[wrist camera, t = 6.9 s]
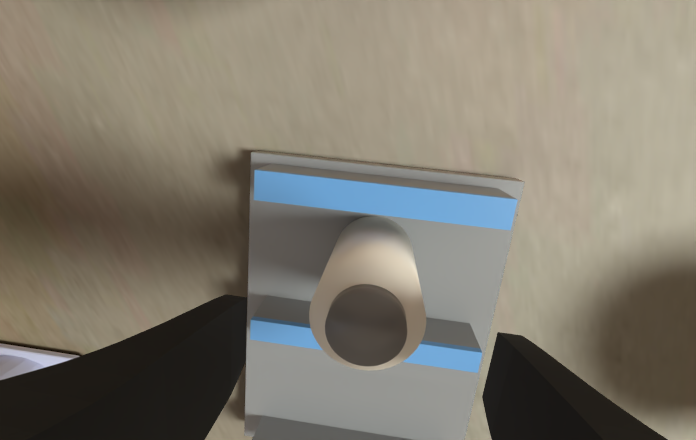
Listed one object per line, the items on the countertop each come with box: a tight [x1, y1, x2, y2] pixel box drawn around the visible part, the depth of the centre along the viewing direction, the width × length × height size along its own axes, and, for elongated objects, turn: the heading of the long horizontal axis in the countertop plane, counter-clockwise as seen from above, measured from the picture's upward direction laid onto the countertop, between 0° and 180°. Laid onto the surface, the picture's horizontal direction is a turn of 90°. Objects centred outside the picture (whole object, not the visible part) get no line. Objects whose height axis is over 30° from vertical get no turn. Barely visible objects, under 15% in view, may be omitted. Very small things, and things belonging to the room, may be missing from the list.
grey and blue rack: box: [244, 150, 525, 440], centre depth 17 cm, size 16×12×3 cm
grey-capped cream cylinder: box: [309, 216, 426, 371], centre depth 14 cm, size 4×4×7 cm
